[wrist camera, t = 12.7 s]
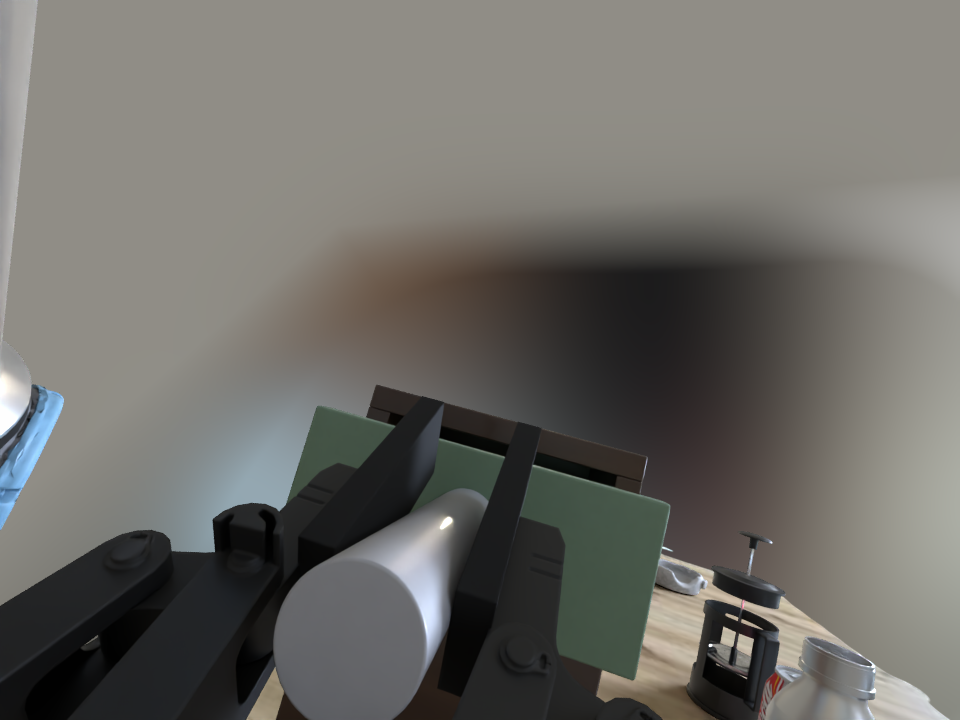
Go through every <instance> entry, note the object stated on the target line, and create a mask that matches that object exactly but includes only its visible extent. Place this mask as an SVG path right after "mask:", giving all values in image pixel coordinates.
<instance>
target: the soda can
mask: <svg viewBox="0 0 960 720" xmlns="http://www.w3.org/2000/svg"><path fill="white" fill-rule="evenodd" d="M802 673H803V671H800V670H797V669H794V668H791V667H788V666H783V665H777V666H776V667H775V673H774V674H773V675H772V676H770V677H769V678H768V679H767V681H766V683H765V686H764V691H763V695H762V700H761V705H760V711H759V716H758V720H765V716H766V709H767V707H768V705H769V703H770V702H771V700H772V698H773V697H774V695H775V694H776V693H778V692H779V691H780V690H781V689H782V688H784V687H785V686H786V685H788V684H789V683H791V682H793V681H794V680H796V679H798V678H799V677H801V676H802Z"/></svg>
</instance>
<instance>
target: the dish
mask: <svg viewBox="0 0 960 720" xmlns="http://www.w3.org/2000/svg"><path fill="white" fill-rule="evenodd" d="M655 583H657V584H659V585H661V586H663V587H665V588H668V589H671V590H674V591H677V592H680V593H684V594H690V595H697V594H698V593H699V591H700V589H701V588H702V589H705V588H706V586H707V581H706V580H704V579H703V577H702V575H701V574H699V573H697V572H696V571H694V570H690V569H689V568H687V567H685V566H682V565H678V564H675V563H672V562H669V561H667V560H664V559H660V560H659V565H658V570H657V575H656V579H655Z"/></svg>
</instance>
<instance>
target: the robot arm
mask: <svg viewBox="0 0 960 720" xmlns="http://www.w3.org/2000/svg"><path fill="white" fill-rule="evenodd" d="M37 3H38V0H0V530H1V528H2V526H3V524H4V523H5V521H6V519H7V517H8V515H9V514H10V511H11V510H12V508H13V506H14V504H15V502H16V500H17V498H18V496H19V493H20V491H21V489H23V487H24V484H25V482H26V481H27V479H28V477H29V475H30V474H31V472H32V470H33V468H34V466H35V464H36V462H37V460H38V458H39V456H40V454H41V452H42V450H43V448H44V446H45V444H46V442H47V440H48V438H49V436H50V434H51V432H52V429H53V427H54V425H55V423H56V421H57V419H58V417H59V415H60V413H61V410H62V408H63V402H64V400H63V397H62V396H61V395H60V394H59V393H57V392H54V391H50V390H47V389H46V388H45V387H42V386H40V385H32V382H31V377H30V372H29V370H28V368H27V366H26V364H25V362H24V361H23V359H22V358H21V356H20V355H19V354H18V353H17V352H16V351H15V350H14V349H13V348H12V347H11V346H10V345H9V344H8V343H6V342H5V341H4V340H3V339H2V337H3V328H4V319H5V308H6V299H7V290H8V280H9V271H10V261H11V251H12V241H13V232H14V223H15V213H16V204H17V193H18V184H19V175H20V165H21V155H22V146H23V137H24V127H25V118H26V108H27V98H28V89H29V80H30V70H31V60H32V51H33V41H34V31H35V22H36V12H37ZM443 408H444V402H442V401H438V400H434V399H430V398H427V397H423V396H422V397H421V398H420V399H419V400H418V401H417V403H416V404H415V405H414V406H413V407H412V408H411V409H410V410H409V412H408V413H407V414H406V415H405V416H404V417H403V418H402V419H401V421H400V422H399V423H398V424H397V425H396V426H395V427H394V429H393V430H392V431H391V432H390V433H389V434H388V435H387V436H386V438H385V439H384V440H383V441H382V442H381V443H380V444H379V445H378V447H377V448H376V449H375V450H374V451H373V452H372V453H371V454H370V456H369V457H368V458H367V459H366V460H365V461H364V462H363V464H362V465H361V466H360V467H359V468H354V467H351V466H348V465H345V464H341V463H336V464H334V465H332V466H330V467H328V468H326V469H324V470H321V471H320V472H319V473H318V474H317V475H316V476H315V477H314V478H313V479H312V480H311V481H310V482H309V483H308V485H307V486H305V487H304V488H303V489H302V490H301V491H300V492H299V493H298V494H297V496H295V497H293V498H292V499H291V500H290V501H289V502H288V503H287V504H286V505H285V506H284V508H282V510H280V511H278V510H277V509H276V508H274V507H271V506H269V505H266V504H258V503H249V504H243V505H237V506H235V507H232V508H230V509H228V510H225V511H223V512H222V513H220V514H219V515H218V516H216V517H215V518H214V519H213V530H214V544H215V552H211V553H210V552H209V553H199V552H175V551H171V544H170V539H169V538H168V537H167V536H166V535H165V534H163V533H160V532H156V531H153V530H143V531H133V532H129V533H126V534H122V535H119V536H117V537H115V538H113V539H111V540H109V541H106V542H105V543H103V544H101V545H99V546H98V547H96V548H95V549H93V550H91V551H90V552H88V553H86V554H85V555H83V556H81V557H80V558H78V559H76V560H75V561H73V562H72V563H70V564H68V565H67V566H65V567H64V568H62V569H60V570H58V571H57V572H55V573H54V574H52V575H50V576H48V577H47V578H45V579H43V580H42V581H40V582H39V583H37V584H35V585H34V586H32V587H30V588H29V589H27V590H25V591H24V592H22V593H20V594H19V595H17V596H15V597H14V598H12V599H11V600H9V601H7V602H6V603H4V604H3V605H1V606H0V720H246V719H247V717H248V715H249V713H250V711H251V710H252V708H253V706H254V704H255V702H256V700H257V699H258V697H259V695H260V693H261V691H262V690H263V688H264V686H265V684H266V682H267V680H268V679H269V677H270V675H271V673H272V671H273V670H274V668H275V662H274V653H273V638H274V631H275V625H276V621H277V617H278V614H279V612H280V609H281V606H282V604H283V602H284V600H285V598H286V596H287V595H288V593H289V592H290V590H291V589H292V587H293V586H294V585H295V584H296V582H297V581H298V580H299V579H300V578H301V577H302V576H303V575H304V574H306V573H307V572H308V571H309V570H311V569H312V568H314V567H315V566H317V565H319V564H321V563H322V562H324V561H326V560H328V559H330V558H331V557H333V556H335V555H337V554H338V553H340V552H342V551H344V550H346V549H347V548H349V547H351V546H353V545H354V544H356V543H358V542H360V541H362V540H363V539H365V538H367V537H369V536H370V535H372V534H374V533H376V532H378V531H379V530H381V529H383V528H385V527H386V526H388V525H390V524H392V523H394V522H395V521H397V520H399V519H401V518H402V517H404V516H406V515H408V514H409V513H410V512H411V510H412V508H413V507H414V505H415V503H416V502H417V500H418V498H419V497H420V495H421V493H422V492H423V490H424V488H425V487H426V485H427V483H428V482H429V480H430V478H431V477H432V475H433V473H434V469H435V462H436V456H437V449H438V442H439V435H440V429H441V422H442V415H443ZM541 430H542V428H539V427H536V426H532V425H528V424H524V423H520V422H518V423H517V426H516V429H515V431H514V434H513V437H512V439H511V442H510V445H509V448H508V450H507V453H506V456H505V458H504V461H503V464H502V467H501V469H500V472H499V475H498V477H497V480H496V483H495V486H494V488H493V491H492V494H491V496H490V499H489V502H488V505H487V507H486V510H485V513H484V515H483V518H482V521H481V524H480V526H479V529H478V532H477V534H476V537H475V540H474V543H473V545H472V548H471V551H470V553H469V556H468V559H467V562H466V564H465V567H464V570H463V572H462V575H461V578H460V581H459V583H458V586H457V589H456V593H455V598H454V603H453V609H452V614H451V619H450V624H449V629H448V634H447V640H446V645H445V650H444V655H443V660H442V666H441V671H440V676H439V681H438V686H437V688H438V689H440V690H443V691H446V692H448V693H451V694H453V695H456V696H459V697H461V699H460V701H459V704H458V706H457V709H456V711H455V714H454V716H453V718H452V720H662V718H661V717H660V716H658V715H657V714H656V713H655V712H654V711H652V710H651V709H650V708H649V707H648V706H646V705H645V704H642V703H640V702H638V701H635V700H633V699H631V698H614V699H612V700H610V701H608V702H606V703H605V702H604V701H602V700H601V699H600V698H598V697H597V696H595V695H594V694H593V693H591V692H590V691H589V690H587V689H586V688H584V687H583V686H582V685H581V684H580V683H579V682H578V681H576V680H575V679H574V678H573V677H572V675H571V674H570V673H569V672H568V670H567V669H566V668H565V666H564V664H563V662H562V660H561V658H560V656H559V652H558V649H557V640H556V634H557V625H558V615H559V605H560V596H561V586H562V576H563V567H564V566H563V564H564V557H565V547H566V545H565V542H564V540H563V537H562V535H561V532H560V530H559V528H557V527H554V526H551V525H547V524H544V523H541V522H537V521H534V520H531V519H527V518H524V517H521V516H520V515H521V512H522V508H523V504H524V500H525V496H526V492H527V487H528V483H529V479H530V475H531V471H532V467H533V463H534V459H535V455H536V451H537V447H538V443H539V438H540V434H541ZM97 635H98V638H96V639H95V640H93V641H91V642H90V643H88V644H86V643H87V642H89V641H90V640H91V639H93V638H94V637H95V636H97ZM85 644H86V645H85Z"/></svg>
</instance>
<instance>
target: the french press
mask: <svg viewBox="0 0 960 720" xmlns="http://www.w3.org/2000/svg"><path fill="white" fill-rule="evenodd" d="M738 533H740V534H742V535H744V536H747V537H750V545H749V548H751V553H750V558H749V564H748V570H747V573H744V572H741V571H737V570H733V569H729V568H724V567H720V566H712V568H711V569H712V570H713V571H714V577H713V582H712V583H713V585H714V586H716V587H717V588H719V589H721V590H722V591H724V592H726V593H728V594H731V595H733V596H735V597H737V598H740V599H742V602H741V608H739V607H736V606H734V605H731V604H727V603H724V602H720V601H716V600H706V601H705V604H704V609H703V611H704V613H705V619H704V624H703V629H702V635H701V640H700V642H699V644H700V645H699V650H698V656H697V661H696V662H694V664H693V667H692V672H691V677H690V682H689V683H688V685H687V692H688V695H689V696H690V697H691V699H692V700H693V701H694V702H695V703H696V704H698V705H699V706H700V707H701V708H703V709H704V710H705V711H707V712H708V713H710V714H711V715H713V716H714V717H716V718H718V719H720V720H758V716H759V711H760V705H761V700H762V695H763V691H764V686H765V683H766V681H767V679H768V678H769V677H770V676H772V675H773V674H774V673H775V667H776V663H777V657H778V651H779V645H780V643H779V641H778V634H779V629H778V628H777V627H776V626H775V625H773V624H772V623H770V622H769V621H767V620H765V619H763V618H762V617H760V616H758V615H755V614H753V613H751V612H749V611H747V610H744V603H745V601H748V602H750V603H753V604H756V605H760V606H763V607H767V608H772V609H778V608H779V603H780V597H781V596H785V592H784V591H783V590H782V589H780V588H778V587H776V586H774V585H772V584H770V583H768V582H766V581H764V580H762V579H760V578H757V577H755V576H752V575H750V570H751V565H752V559H753V554H754V549H755V550H756V549H757V545H758V541H759V540H760V541H763V542H767V543H772V542H771V541H770V540H768V539H767V538H764V537H762V536H759V535H756V534H753V533H749V532H744V531H739V532H738ZM726 613H728V614H731V615H734V616H736V617H739V619H738V621H736V620H733V619H731V618H729V617H727V616H725V614H726ZM742 619H744V620H746V621H748V622H750V623H753V624H755V625H757V626H758V627H760V628H762V629H763V630H761V629H757V628H754V627H751V626H748V625H746V624H743V623H741V620H742ZM723 626H724V627H726V628H728V629H730V630H732V631H735V632H736V635H735V641H734V646H733V647H729V646H726V645H723V644H721V643H720V641H721V636H722V630H723ZM739 634H742V635H745V636H747V637H750V638H753V639H754V642H753V648H752V653H751V657H750V656H748V655H746V654H744V653H742V652H740V651H738V650H737V648H736V647H737V642H738V636H739ZM716 663H717V664H719V665H720V666H718V665H716ZM721 666H722V667H721ZM723 667H724V668H723ZM736 673H737V674H736ZM738 674H739V675H738ZM740 675H742V676H744V677H747V679H745V678H744V677H742V676H740Z"/></svg>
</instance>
